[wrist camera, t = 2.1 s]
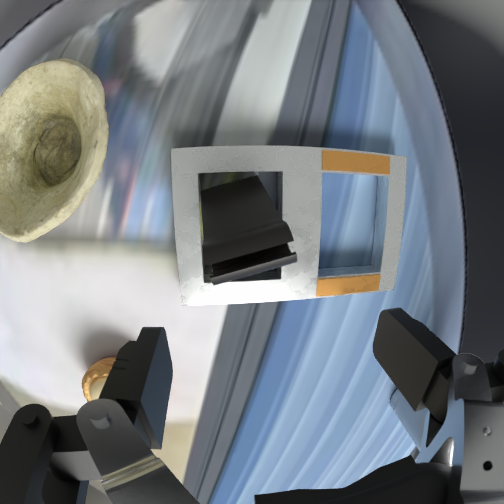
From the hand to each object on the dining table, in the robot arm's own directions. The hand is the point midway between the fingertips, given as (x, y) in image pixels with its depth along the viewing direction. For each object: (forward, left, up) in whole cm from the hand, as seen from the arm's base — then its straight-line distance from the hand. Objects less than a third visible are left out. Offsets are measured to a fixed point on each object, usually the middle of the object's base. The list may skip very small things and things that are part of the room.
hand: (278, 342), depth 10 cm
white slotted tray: (-6, 0, -21) cm, 22 cm away
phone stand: (0, 0, -21) cm, 21 cm away
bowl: (+20, -10, -21) cm, 31 cm away
